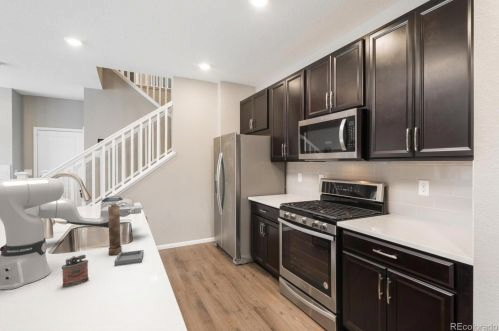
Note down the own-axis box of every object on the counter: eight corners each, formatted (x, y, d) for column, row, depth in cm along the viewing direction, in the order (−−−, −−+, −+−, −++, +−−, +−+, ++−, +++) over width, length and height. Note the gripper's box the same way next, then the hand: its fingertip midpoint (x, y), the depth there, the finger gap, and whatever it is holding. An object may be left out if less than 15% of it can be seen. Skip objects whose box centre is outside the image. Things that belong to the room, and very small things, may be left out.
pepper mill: (107, 256, 118) (105, 204, 118) (110, 252, 124) (108, 202, 123) (120, 254, 120) (119, 203, 119) (122, 250, 125) (121, 201, 125)
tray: (114, 266, 107) (114, 261, 107) (119, 256, 117) (119, 252, 117) (141, 262, 110) (141, 258, 110) (143, 253, 120) (143, 249, 120)
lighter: (62, 288, 89) (61, 261, 88) (61, 285, 91) (60, 258, 91) (89, 281, 94) (88, 254, 94) (87, 278, 97) (87, 252, 96)
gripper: (143, 212, 150) (140, 217, 136) (104, 215, 143) (98, 221, 130) (142, 202, 149) (140, 206, 136) (104, 204, 143) (97, 209, 130)
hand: (119, 213), depth 133 cm, fingers open, 8 cm apart
